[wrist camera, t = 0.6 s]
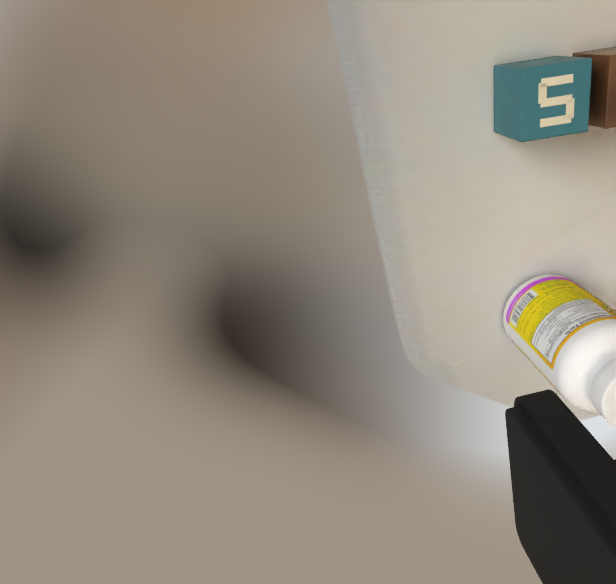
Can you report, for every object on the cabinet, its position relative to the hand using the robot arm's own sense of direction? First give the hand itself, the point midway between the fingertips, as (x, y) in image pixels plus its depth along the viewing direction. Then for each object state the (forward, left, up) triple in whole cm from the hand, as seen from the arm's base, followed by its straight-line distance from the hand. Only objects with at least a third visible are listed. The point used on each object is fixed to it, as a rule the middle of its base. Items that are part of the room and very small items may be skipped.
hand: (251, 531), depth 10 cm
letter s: (-1, +20, -33) cm, 38 cm away
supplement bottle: (+15, +21, -33) cm, 42 cm away
